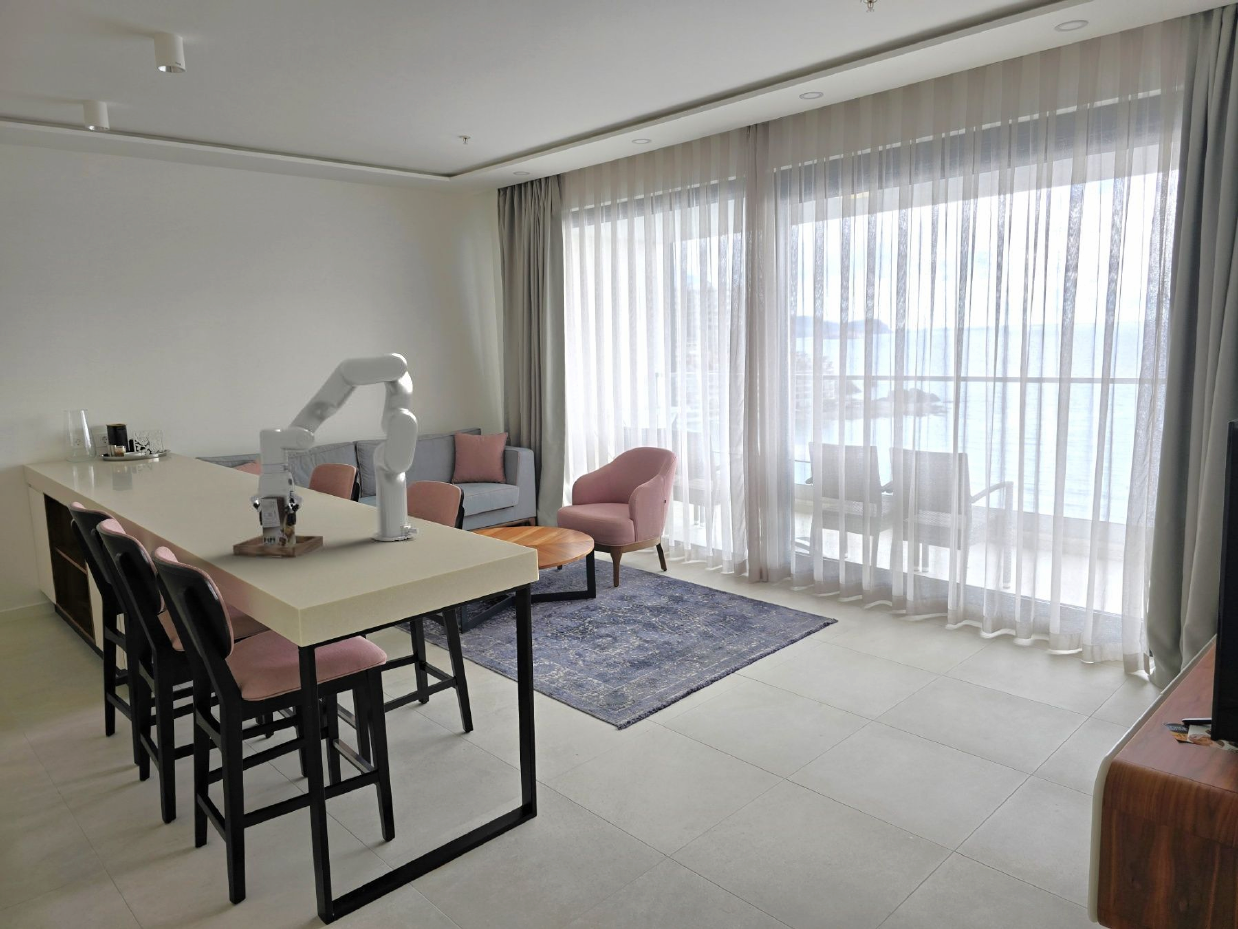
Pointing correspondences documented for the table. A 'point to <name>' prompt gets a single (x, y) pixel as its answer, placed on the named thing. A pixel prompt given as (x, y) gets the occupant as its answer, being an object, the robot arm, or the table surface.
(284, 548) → the tray
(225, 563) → the table surface
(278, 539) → the coffee box
